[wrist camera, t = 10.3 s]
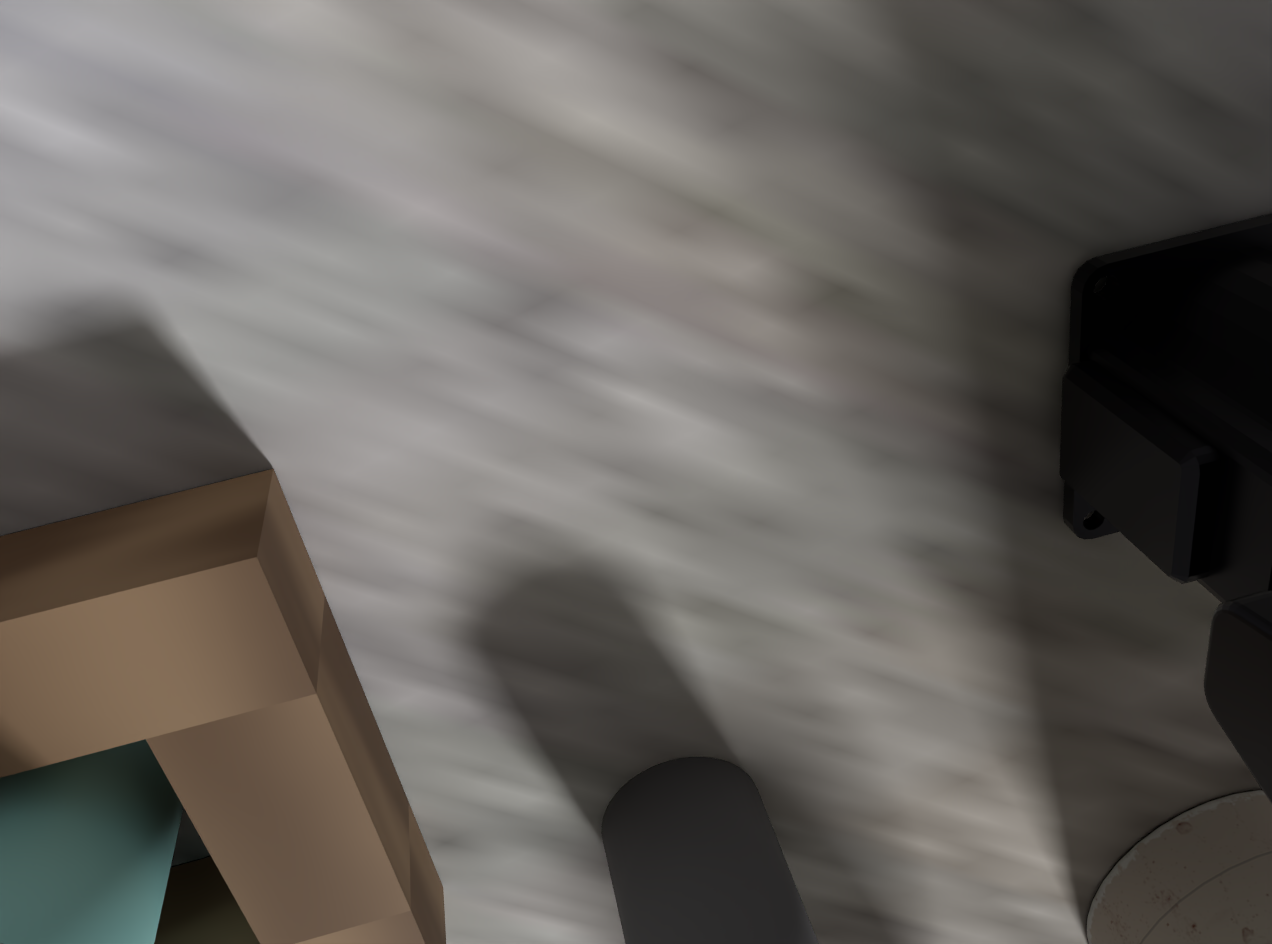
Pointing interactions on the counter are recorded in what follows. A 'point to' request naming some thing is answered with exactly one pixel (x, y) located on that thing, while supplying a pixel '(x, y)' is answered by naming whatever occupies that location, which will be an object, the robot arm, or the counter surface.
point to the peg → (87, 849)
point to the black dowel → (699, 860)
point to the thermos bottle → (1193, 880)
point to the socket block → (218, 712)
